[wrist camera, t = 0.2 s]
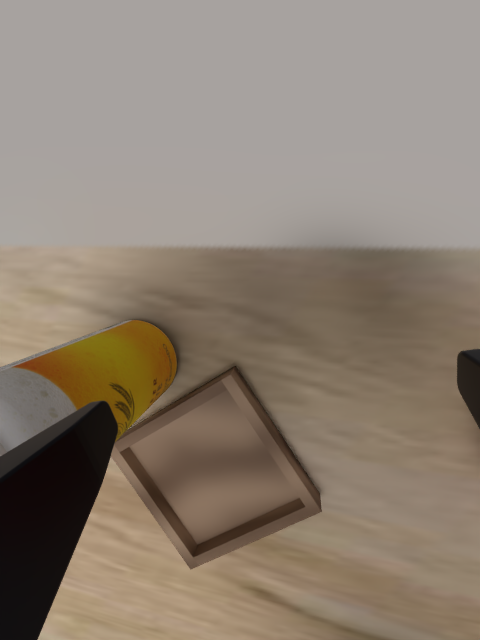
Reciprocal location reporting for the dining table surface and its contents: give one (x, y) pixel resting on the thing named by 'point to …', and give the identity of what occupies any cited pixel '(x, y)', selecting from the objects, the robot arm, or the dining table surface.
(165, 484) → the tray
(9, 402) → the beer can
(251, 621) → the dining table surface
